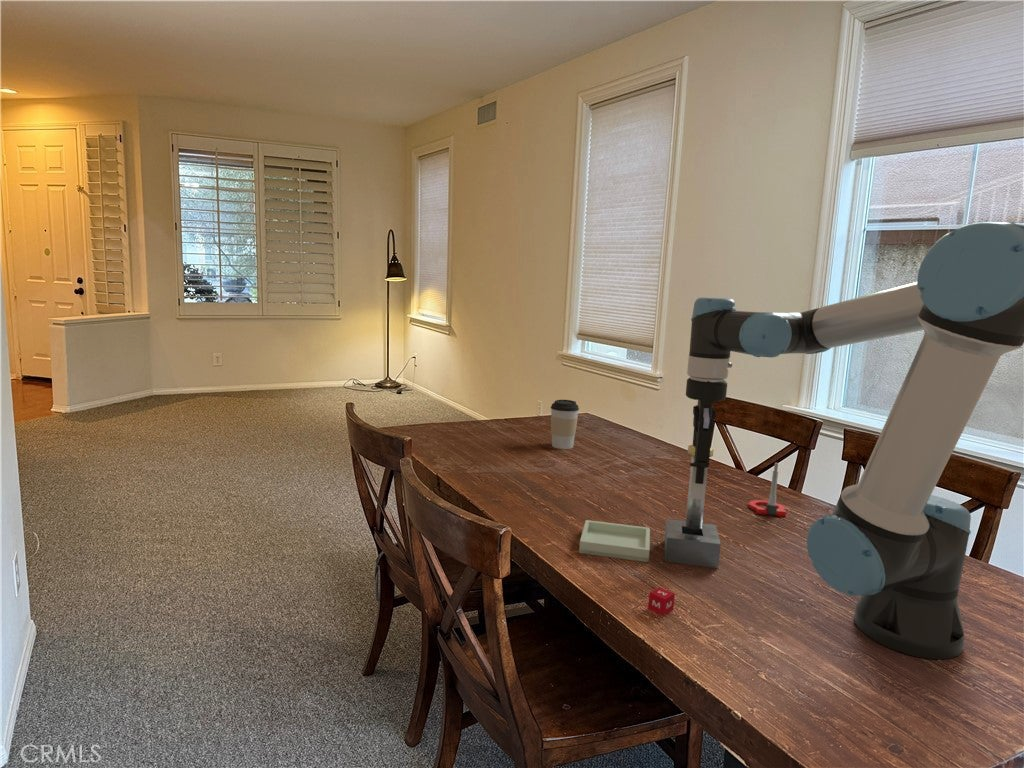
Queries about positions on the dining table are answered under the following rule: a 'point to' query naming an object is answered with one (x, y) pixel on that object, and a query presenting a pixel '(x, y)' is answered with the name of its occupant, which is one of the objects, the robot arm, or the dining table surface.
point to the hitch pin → (694, 505)
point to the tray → (615, 540)
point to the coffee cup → (563, 423)
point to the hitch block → (691, 544)
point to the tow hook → (770, 500)
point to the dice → (661, 601)
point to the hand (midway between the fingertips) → (696, 494)
